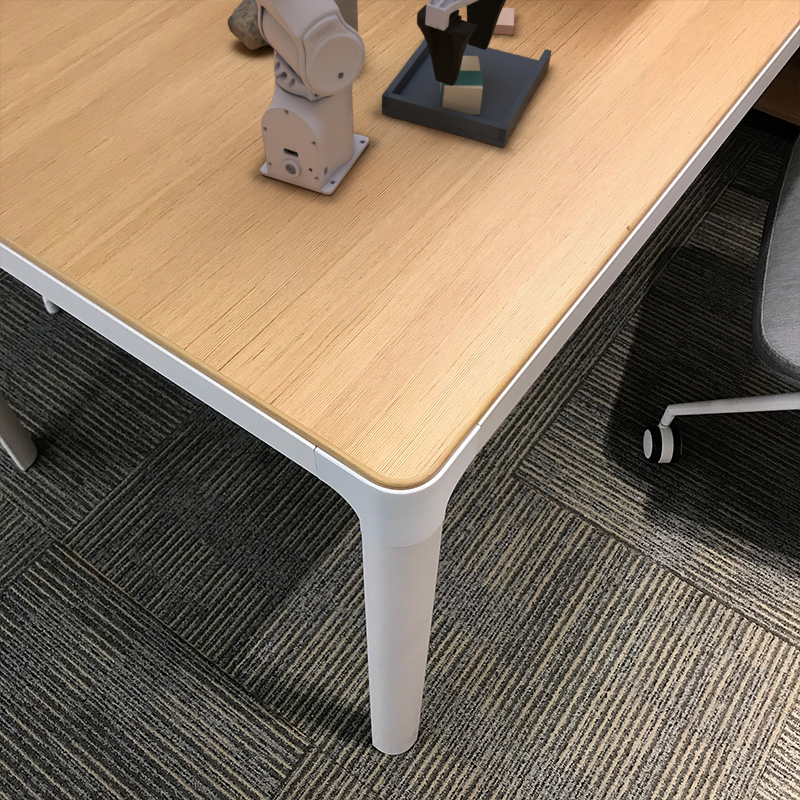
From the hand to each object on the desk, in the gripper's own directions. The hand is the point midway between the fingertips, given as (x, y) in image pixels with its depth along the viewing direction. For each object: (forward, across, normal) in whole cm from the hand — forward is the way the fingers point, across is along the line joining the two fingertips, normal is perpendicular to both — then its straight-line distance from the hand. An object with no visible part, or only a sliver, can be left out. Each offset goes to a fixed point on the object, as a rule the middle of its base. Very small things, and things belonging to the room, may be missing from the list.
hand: (462, 63), depth 80 cm
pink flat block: (+5, +17, +3) cm, 18 cm away
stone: (+5, 0, +24) cm, 24 cm away
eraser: (+4, 0, 0) cm, 4 cm away
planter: (+5, 0, +15) cm, 16 cm away
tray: (+5, +3, 0) cm, 6 cm away
